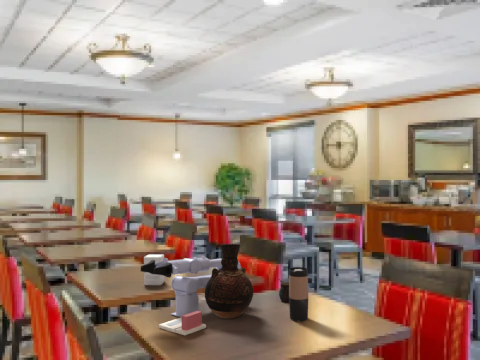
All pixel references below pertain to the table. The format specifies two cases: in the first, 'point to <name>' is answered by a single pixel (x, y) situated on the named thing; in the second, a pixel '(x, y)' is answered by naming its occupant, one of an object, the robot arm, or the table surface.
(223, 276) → the ceramic vessel
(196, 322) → the stub
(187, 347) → the table surface
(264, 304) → the table surface
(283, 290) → the mate gourd
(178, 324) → the white flat slab
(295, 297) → the travel mug
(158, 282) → the supplement box
